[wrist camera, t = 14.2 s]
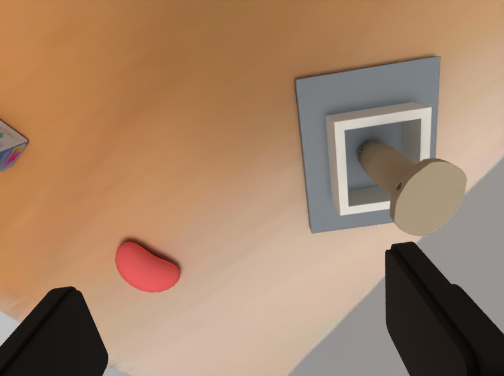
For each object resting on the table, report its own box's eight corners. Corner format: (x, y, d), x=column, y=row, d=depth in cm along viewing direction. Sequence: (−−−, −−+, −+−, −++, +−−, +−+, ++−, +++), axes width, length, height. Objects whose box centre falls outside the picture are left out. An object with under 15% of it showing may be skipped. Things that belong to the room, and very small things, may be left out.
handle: (339, 169, 41) (382, 223, 27) (364, 120, 38) (425, 152, 24) (373, 182, 41) (433, 243, 27) (400, 135, 39) (479, 175, 25)
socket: (294, 79, 38) (301, 82, 33) (433, 56, 37) (465, 55, 32) (310, 228, 45) (317, 251, 40) (426, 212, 44) (451, 234, 39)
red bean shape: (155, 282, 51) (167, 307, 46) (102, 262, 45) (109, 287, 40) (175, 255, 51) (188, 276, 46) (124, 232, 46) (133, 253, 41)
